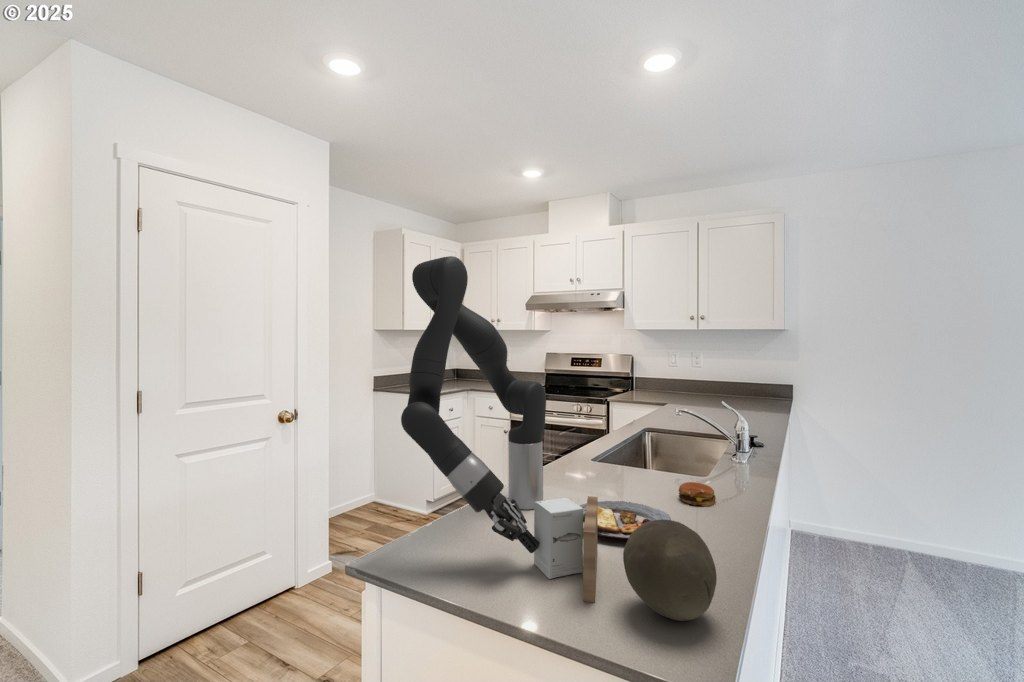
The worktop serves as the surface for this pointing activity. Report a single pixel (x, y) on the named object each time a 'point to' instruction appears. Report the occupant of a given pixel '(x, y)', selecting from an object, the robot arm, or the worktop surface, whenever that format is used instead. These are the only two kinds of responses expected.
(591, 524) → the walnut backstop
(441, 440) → the robot arm
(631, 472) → the worktop surface
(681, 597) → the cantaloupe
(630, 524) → the food plate
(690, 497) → the burger
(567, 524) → the supplement box
